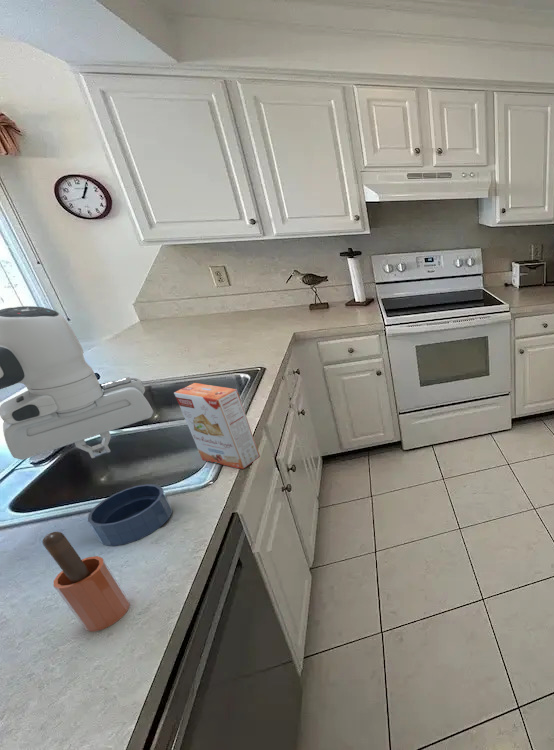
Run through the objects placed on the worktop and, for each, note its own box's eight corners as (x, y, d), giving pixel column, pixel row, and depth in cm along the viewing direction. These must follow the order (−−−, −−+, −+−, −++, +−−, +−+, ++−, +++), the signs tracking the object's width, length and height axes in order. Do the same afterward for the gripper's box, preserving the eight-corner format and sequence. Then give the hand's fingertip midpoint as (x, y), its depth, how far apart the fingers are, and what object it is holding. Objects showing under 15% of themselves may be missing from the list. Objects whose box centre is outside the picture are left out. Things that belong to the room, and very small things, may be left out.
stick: (96, 622, 68) (35, 542, 58) (102, 610, 70) (44, 530, 60) (113, 618, 69) (56, 538, 59) (118, 606, 70) (63, 526, 60)
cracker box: (201, 462, 108) (171, 391, 99) (221, 449, 113) (195, 381, 104) (242, 471, 104) (215, 398, 95) (261, 457, 109) (237, 387, 100)
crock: (78, 639, 66) (44, 593, 61) (96, 607, 71) (66, 562, 66) (122, 626, 68) (92, 581, 63) (137, 596, 73) (110, 551, 68)
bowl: (88, 555, 81) (74, 533, 79) (117, 512, 92) (105, 492, 89) (161, 538, 85) (149, 516, 82) (180, 498, 95) (171, 478, 93)
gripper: (135, 370, 85) (159, 426, 91) (-14, 408, 71) (27, 472, 77) (142, 378, 81) (167, 436, 87) (-13, 420, 67) (30, 487, 73)
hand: (101, 454), depth 82 cm, fingers closed
